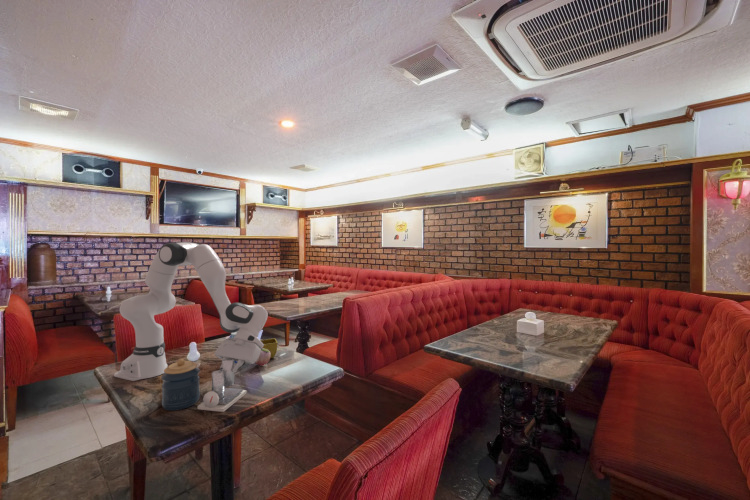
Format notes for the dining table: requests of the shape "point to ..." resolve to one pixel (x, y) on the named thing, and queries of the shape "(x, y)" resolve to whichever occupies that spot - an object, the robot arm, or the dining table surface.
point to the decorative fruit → (263, 357)
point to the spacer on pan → (218, 383)
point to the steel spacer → (228, 372)
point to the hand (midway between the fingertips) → (227, 370)
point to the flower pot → (270, 346)
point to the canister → (180, 385)
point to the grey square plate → (229, 395)
